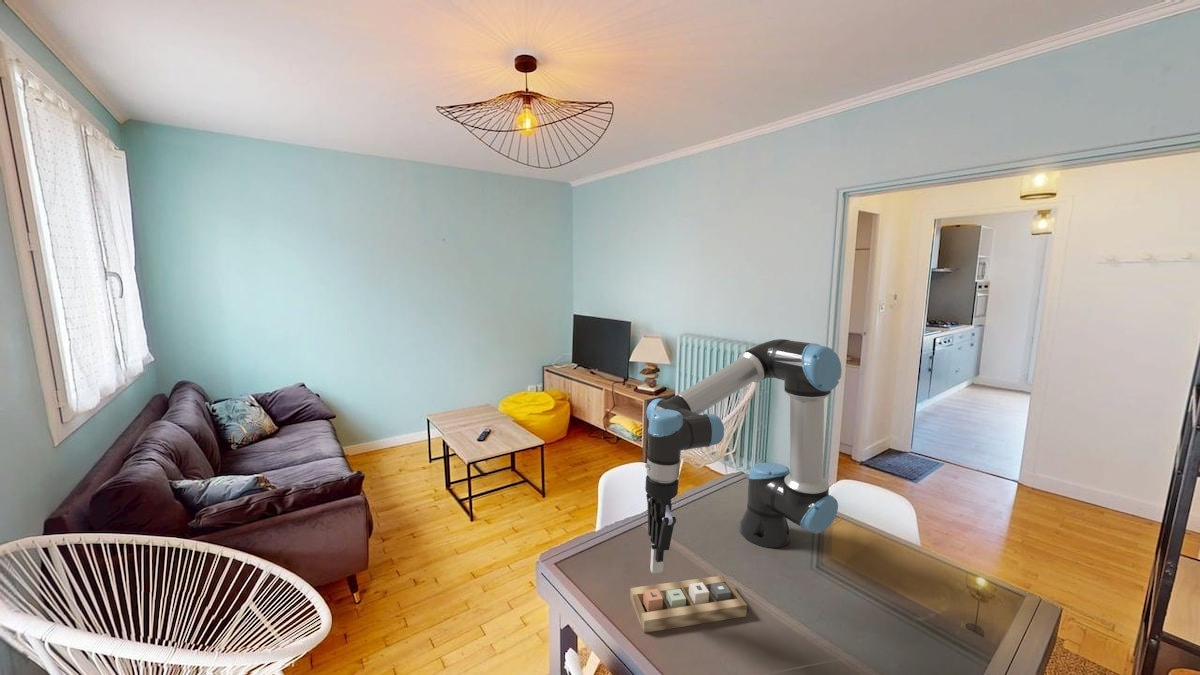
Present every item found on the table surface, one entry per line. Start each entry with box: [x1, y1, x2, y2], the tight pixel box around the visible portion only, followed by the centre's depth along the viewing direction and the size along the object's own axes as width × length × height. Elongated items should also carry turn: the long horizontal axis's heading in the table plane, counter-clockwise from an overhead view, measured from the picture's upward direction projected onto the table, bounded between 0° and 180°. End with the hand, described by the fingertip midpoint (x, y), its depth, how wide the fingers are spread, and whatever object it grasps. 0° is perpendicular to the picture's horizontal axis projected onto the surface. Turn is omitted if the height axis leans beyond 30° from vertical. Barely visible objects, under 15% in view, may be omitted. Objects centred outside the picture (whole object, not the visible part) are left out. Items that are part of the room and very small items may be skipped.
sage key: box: [666, 589, 686, 609], centre depth 108 cm, size 4×4×3 cm
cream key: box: [689, 582, 709, 605], centre depth 109 cm, size 4×4×3 cm
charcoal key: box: [710, 582, 731, 602], centre depth 111 cm, size 4×4×3 cm
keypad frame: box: [629, 574, 748, 634], centre depth 109 cm, size 26×11×3 cm, turn 103°
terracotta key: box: [643, 588, 663, 612], centre depth 107 cm, size 4×4×3 cm
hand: (656, 570), depth 106 cm, fingers closed
